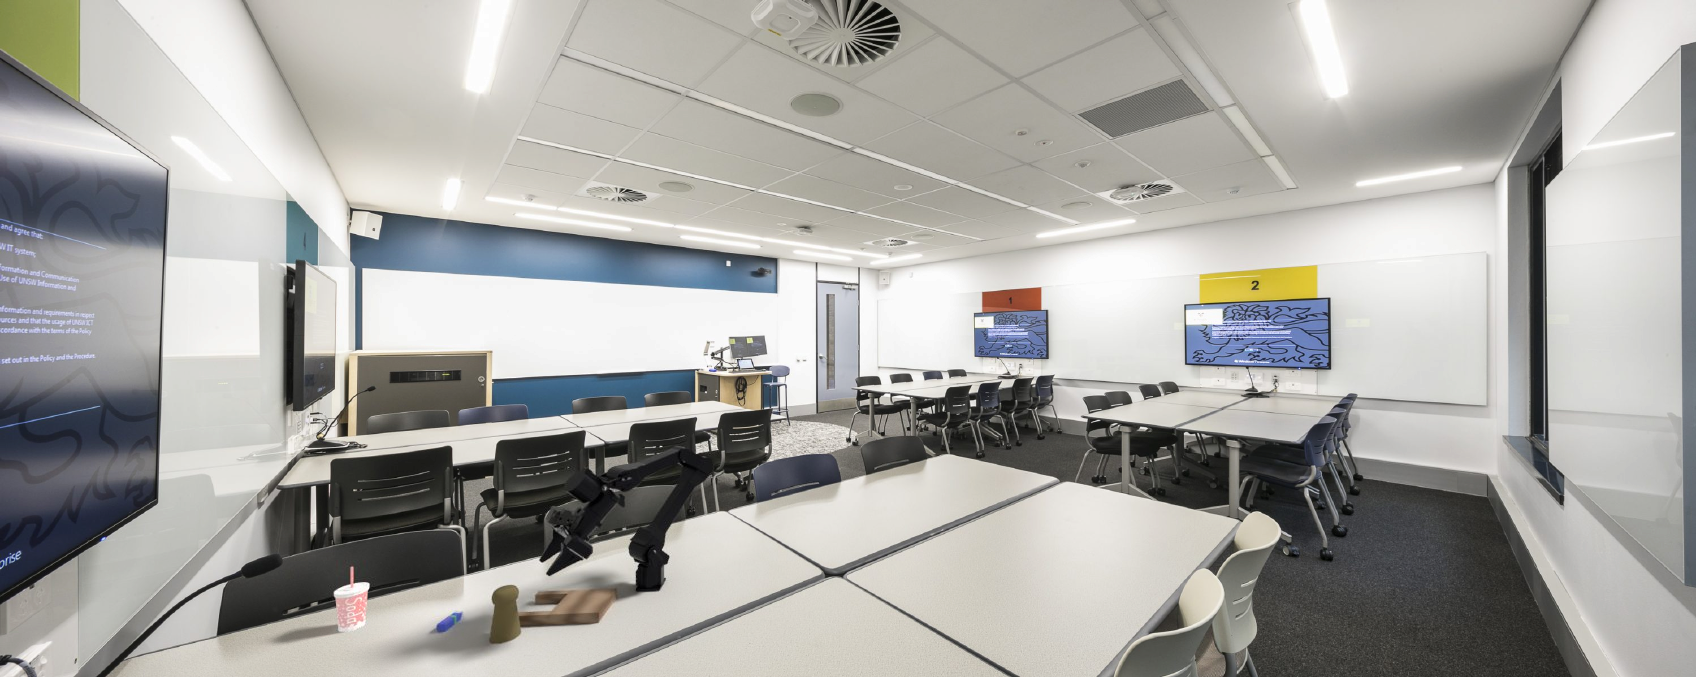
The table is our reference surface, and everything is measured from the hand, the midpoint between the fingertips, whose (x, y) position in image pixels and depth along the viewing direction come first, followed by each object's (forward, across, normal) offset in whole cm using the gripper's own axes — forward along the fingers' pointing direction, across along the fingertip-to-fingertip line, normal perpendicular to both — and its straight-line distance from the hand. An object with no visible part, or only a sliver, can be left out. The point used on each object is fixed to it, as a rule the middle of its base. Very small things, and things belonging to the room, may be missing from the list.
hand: (543, 568), depth 124 cm
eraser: (+22, -14, -2) cm, 26 cm away
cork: (+15, 0, +4) cm, 15 cm away
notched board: (+5, -3, +13) cm, 15 cm away
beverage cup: (+34, -27, -15) cm, 46 cm away
